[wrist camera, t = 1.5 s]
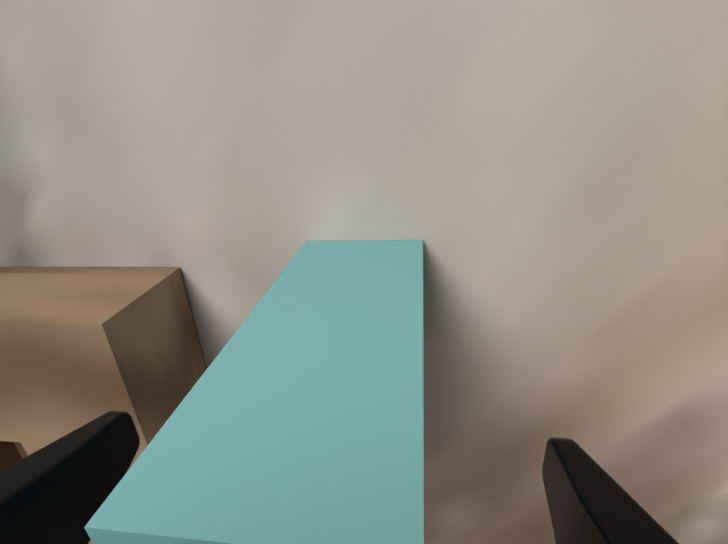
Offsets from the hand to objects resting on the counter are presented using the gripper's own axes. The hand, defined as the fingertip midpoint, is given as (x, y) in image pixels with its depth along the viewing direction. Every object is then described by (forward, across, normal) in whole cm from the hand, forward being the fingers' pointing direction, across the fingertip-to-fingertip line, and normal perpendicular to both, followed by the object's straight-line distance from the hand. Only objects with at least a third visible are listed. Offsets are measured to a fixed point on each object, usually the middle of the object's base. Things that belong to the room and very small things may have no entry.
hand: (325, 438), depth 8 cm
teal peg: (+6, 0, 0) cm, 7 cm away
